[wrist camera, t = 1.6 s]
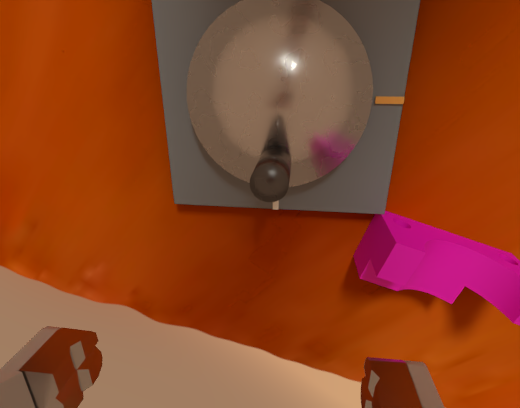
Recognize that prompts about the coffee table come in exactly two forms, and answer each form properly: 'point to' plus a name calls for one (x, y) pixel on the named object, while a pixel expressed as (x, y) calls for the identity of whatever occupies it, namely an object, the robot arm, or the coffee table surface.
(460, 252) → the toy block
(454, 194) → the coffee table surface
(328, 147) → the dial
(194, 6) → the dial plate
